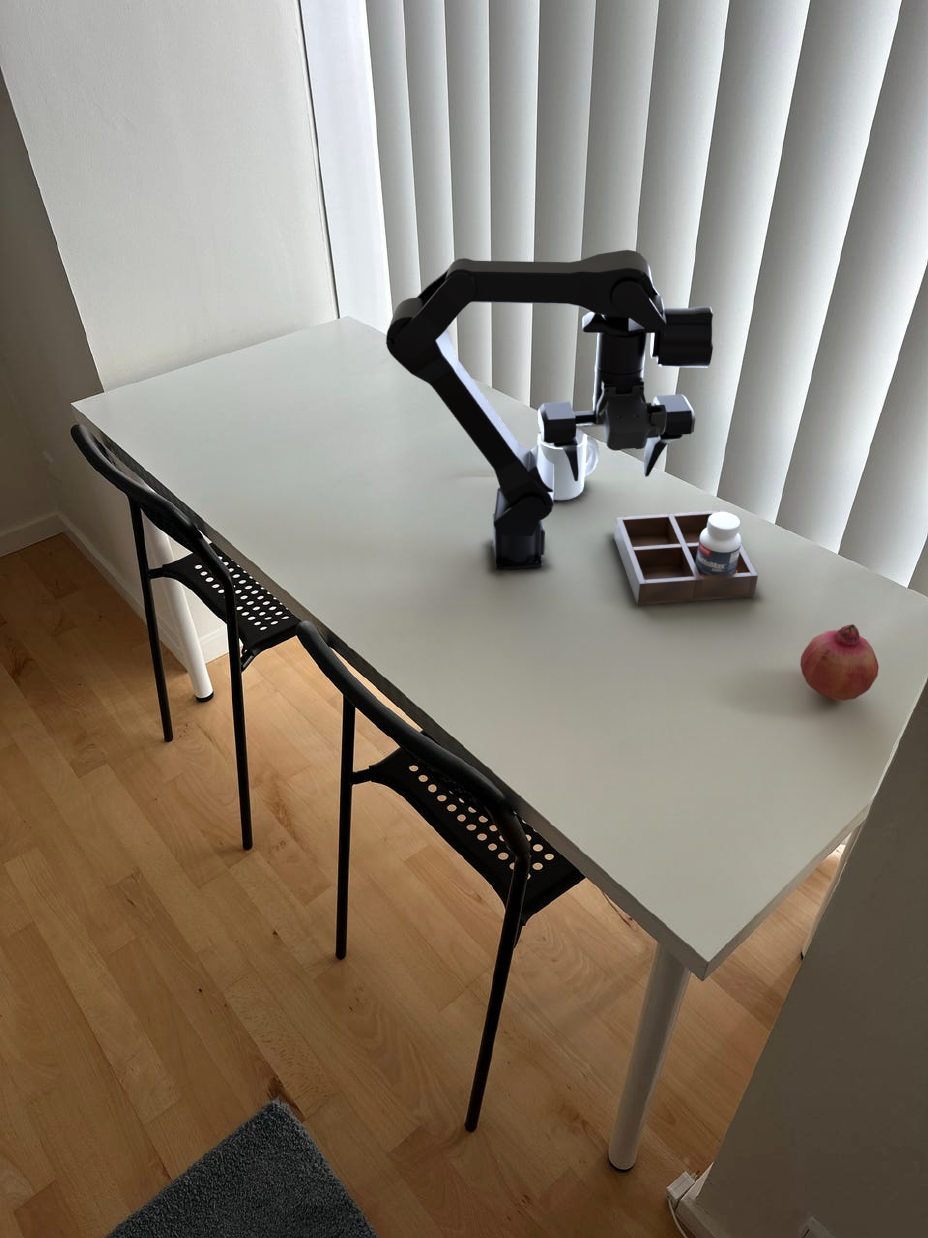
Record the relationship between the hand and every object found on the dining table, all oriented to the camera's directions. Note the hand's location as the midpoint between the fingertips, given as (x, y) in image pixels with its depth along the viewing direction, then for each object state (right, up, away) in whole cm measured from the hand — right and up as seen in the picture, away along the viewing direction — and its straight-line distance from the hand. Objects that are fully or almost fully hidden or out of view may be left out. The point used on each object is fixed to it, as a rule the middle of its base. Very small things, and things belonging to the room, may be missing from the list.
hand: (610, 477), depth 123 cm
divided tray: (+11, -11, +6) cm, 17 cm away
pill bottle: (+14, -13, +4) cm, 19 cm away
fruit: (+24, -27, -13) cm, 38 cm away
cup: (-3, +2, +23) cm, 23 cm away
